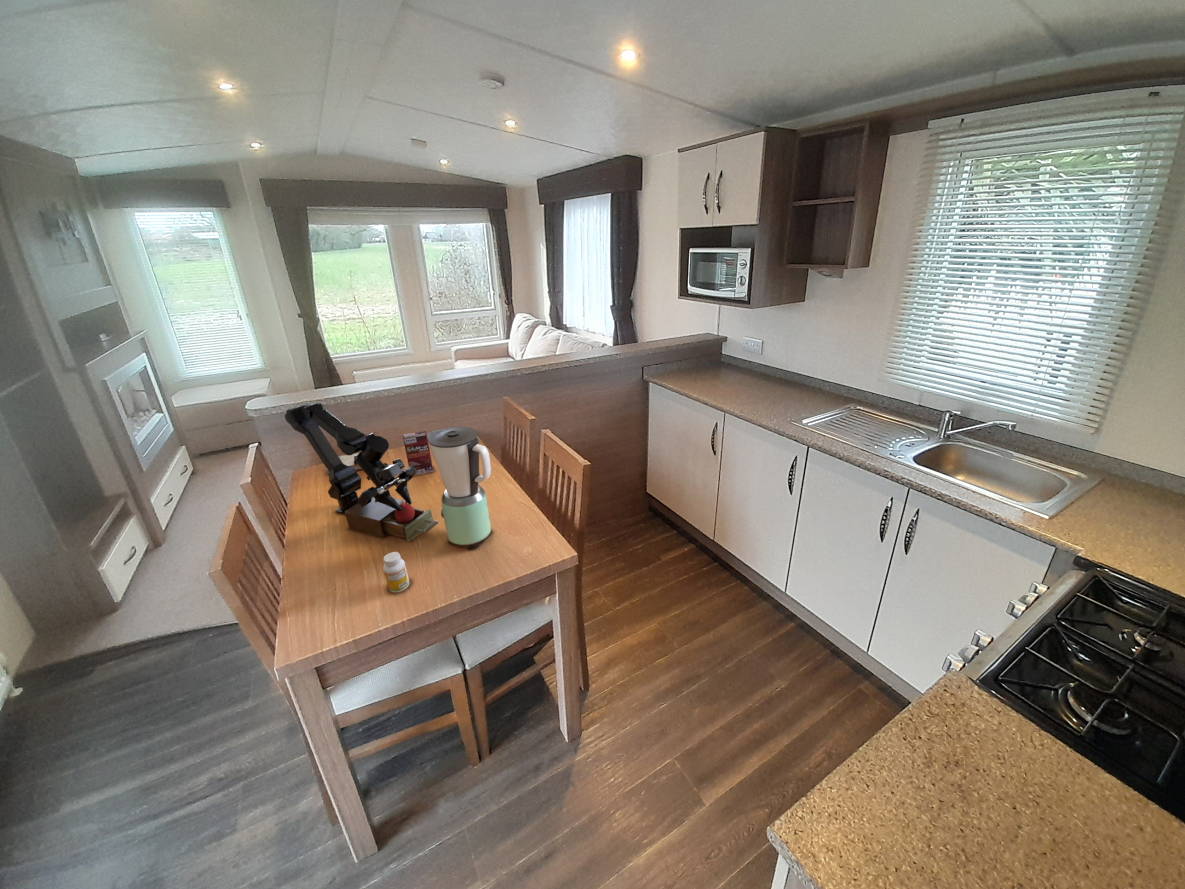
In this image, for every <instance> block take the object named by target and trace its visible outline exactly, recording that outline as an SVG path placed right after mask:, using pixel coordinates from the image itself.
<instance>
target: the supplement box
mask: <svg viewBox="0 0 1185 889" xmlns="http://www.w3.org/2000/svg"><path fill="white" fill-rule="evenodd" d="M402 439H403V445H404V450H405V455H406V460H407V465H408V467H410V466H411V467H414V468H415V469H416V471H417V473H416V474H415V475H414V476H418V475H423V474H428V473H433V472H434V467H433V461H432V456H431V451H430V450H431V449H430V444H429V442H428V434H427V431H426V430H423V431H418V432H411V433H406V434H402Z"/></svg>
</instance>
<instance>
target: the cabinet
mask: <svg viewBox="0 0 1185 889" xmlns="http://www.w3.org/2000/svg"><path fill="white" fill-rule="evenodd" d="M393 499H394V500H395V501H396V502H397V503H398V504H399V505H400V504H401V502H402V501H405V500H404V499H400V498H396V497H393ZM375 500H376V499H375V498H374V497H373V498H372V499H371V503H369V504H367V505H365V506H364V507H362V506H361V505H360V504H359V503H357V504H356V505H354V506H353V507H351V508H350V509H348V510H346V511H345V514H344V515H345V517H346V522H347V525H348V528H349V529H350V530H353V531H357V532H360V533H364V534H368V535H371V536H375V537H378V538H382V539H384V538H386V537H387V536H388V535H389V534H388V533H384V530H383V526H382V522H381V521H383V520H384V519H385V518H387V517H388V516H390V515H391V514H392V513H394V512H395V510H396V509H394V508H392V507H390V506H388V505H385V504H382V503H380V502H376V503H375V502H374V501H375ZM405 503H406V504H408V503H407V502H406V501H405Z"/></svg>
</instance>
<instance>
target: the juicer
mask: <svg viewBox="0 0 1185 889" xmlns="http://www.w3.org/2000/svg"><path fill="white" fill-rule="evenodd" d="M427 439H428V444H429V448H430V450H431V451H430V452H431V455H432V457H433V459H434V461H435V464H436V467H437V470H438V473H439V475H440V477H441V481H442V484H443V486H444V489H445V490H444V491H443V492H442V495H441V511H440V516H441V518H442V519H443V521H444V527H445V531H446V537H447V539H448V543H449V544H452V545H454V546H457V547H460V548H462V547H463V548H467V547H469V549H470V550H475V549H476V548H477V545H480V544H482V543H483V542H485V541H486V540H487V539H488V538H489V537H490V536H491V533H492V526H491V520H490V519H491V518H490V512H489V506H488V500H487V499H488V498H487V494H486V491H485V490H484V488H483V487H482V486H481V485H480V484H479V483H483V482H485V481H487V480H488V479H489V478H490V476H491V473H492V467H491V457H490V453H489V450H488V448H487V447H486V446H485V445H483V444H480V441H479V431H478V430H477V429H476V428H473V427H469V426H451V427H446V428H441V429H436V430H432V431H429V432H428V434H427ZM480 459H481V466H482V475H481V474H480Z"/></svg>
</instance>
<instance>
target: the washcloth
mask: <svg viewBox="0 0 1185 889" xmlns="http://www.w3.org/2000/svg"><path fill="white" fill-rule="evenodd" d="M359 453H360V452H357V453H355V454H353V455H349V456H348V455H346V454H344V455H338V456H339V458H340V459H341V461H342V462H343V464H345V465H347V466H350V465H351V466H353V467H354V469H355V471H358V470H362V468H361V467H360V466H359V465H358V464H357V465H354V456H356V455H358V454H359ZM325 470H326V473H327V474H329V471H328V469H327V468H326V469H325Z"/></svg>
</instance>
